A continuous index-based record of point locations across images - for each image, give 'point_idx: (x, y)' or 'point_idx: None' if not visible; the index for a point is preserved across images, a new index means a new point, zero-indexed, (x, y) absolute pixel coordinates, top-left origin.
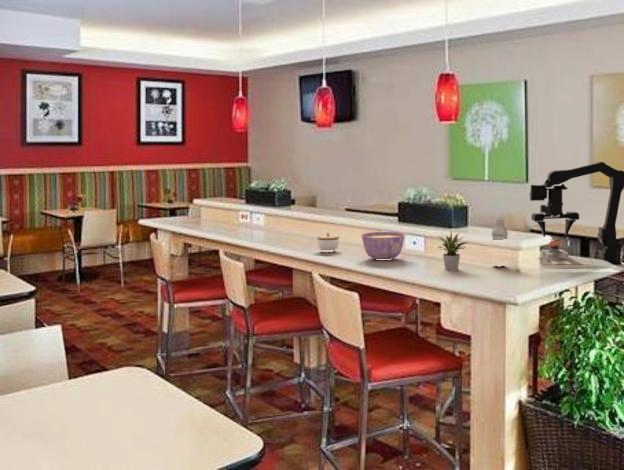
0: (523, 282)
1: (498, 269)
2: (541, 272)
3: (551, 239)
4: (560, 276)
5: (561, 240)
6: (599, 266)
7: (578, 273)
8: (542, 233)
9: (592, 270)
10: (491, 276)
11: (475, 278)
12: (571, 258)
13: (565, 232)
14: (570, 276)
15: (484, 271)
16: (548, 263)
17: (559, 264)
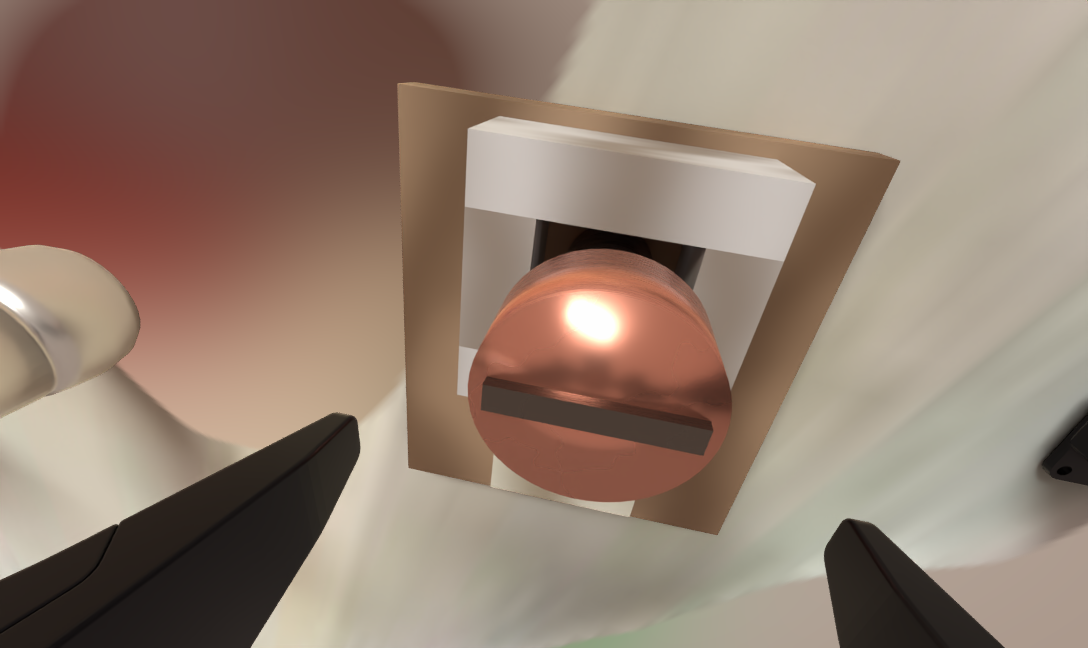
0: (259, 633)
1: (111, 371)
2: (378, 520)
3: (582, 292)
4: (451, 613)
5: (703, 459)
6: (898, 496)
7: (581, 599)
8: (268, 451)
9: (724, 573)
10: (107, 513)
11: (42, 523)
12: (846, 254)
13: (873, 618)
14: (502, 628)
15: (37, 400)
16: (467, 420)
17: (530, 490)
